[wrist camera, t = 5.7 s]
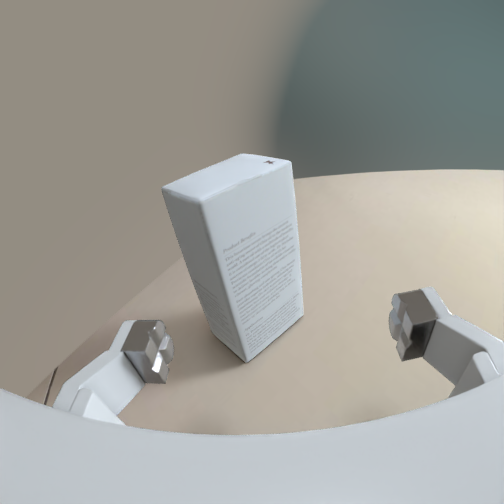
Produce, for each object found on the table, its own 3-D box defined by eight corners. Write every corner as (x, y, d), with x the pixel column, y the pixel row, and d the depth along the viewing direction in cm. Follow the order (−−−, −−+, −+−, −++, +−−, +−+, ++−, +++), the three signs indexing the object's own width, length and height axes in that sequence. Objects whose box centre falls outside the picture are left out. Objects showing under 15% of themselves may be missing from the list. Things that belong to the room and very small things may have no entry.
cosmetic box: (266, 292, 24) (243, 151, 17) (304, 316, 21) (295, 159, 15) (208, 334, 21) (157, 185, 14) (245, 366, 18) (199, 201, 12)
